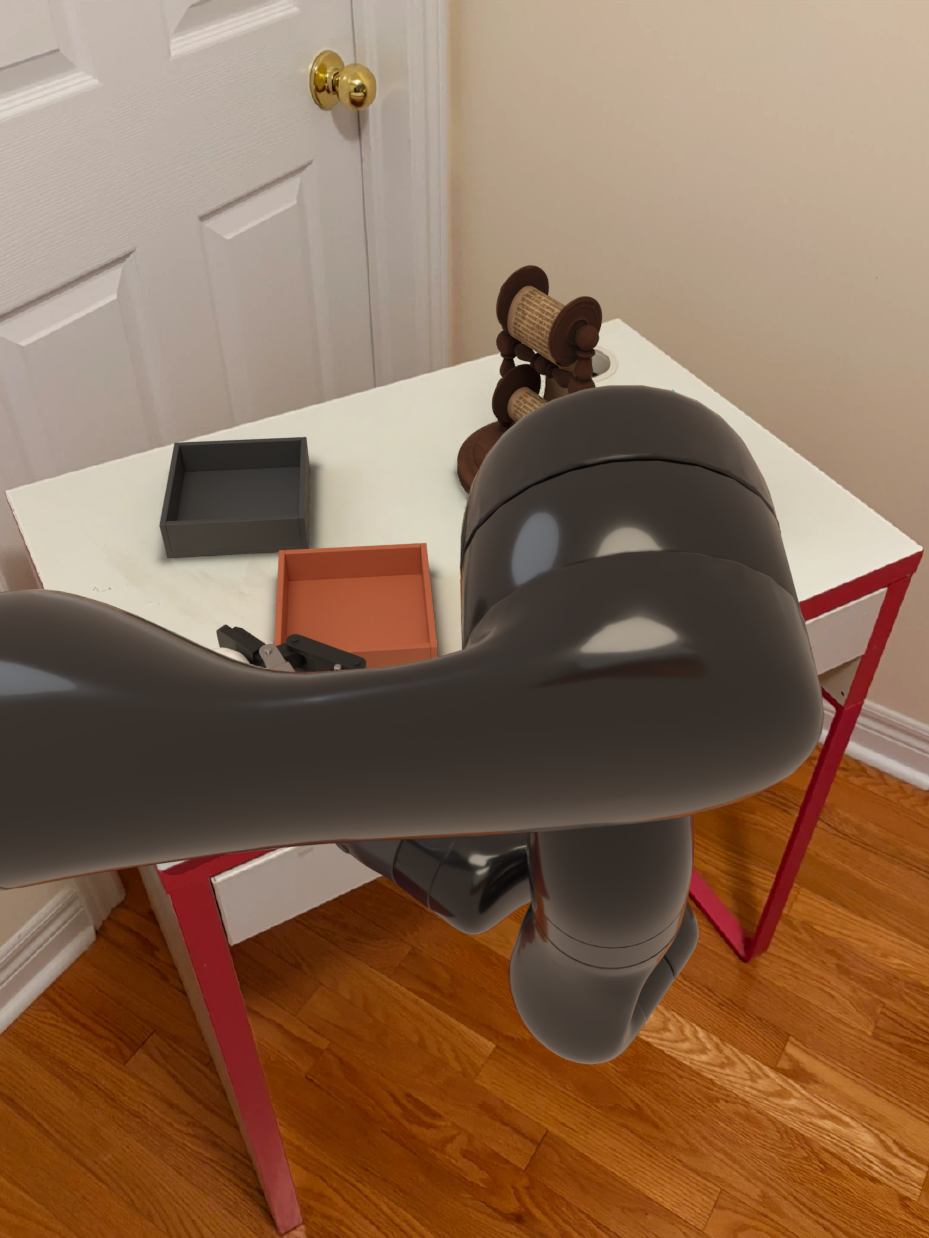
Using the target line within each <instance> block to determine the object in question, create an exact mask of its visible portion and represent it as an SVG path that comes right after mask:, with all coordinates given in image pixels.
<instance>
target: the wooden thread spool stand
mask: <svg viewBox="0 0 929 1238" xmlns="http://www.w3.org/2000/svg"><path fill="white" fill-rule="evenodd" d="M549 293H550V281H549V277H548V275H547V273H546V272H545V270H544V269H542V267H539V266H538V265H534V264H528V265H524V266H522V267H519V268H517V269H516V270H515V271H514V272H512V273H511V274H510V275H509V276H508V278H507V279H506V280H505V281H504V282H503V284H502V285H501V287H500V288H499V293H498V295H497V300H496V302H495V314H496V319H497V321H498V323H499V325H500V326H501V329H502V330H501V331H500V332H499V333H498V334H497V336H496V339H495V345H496V348H497V350H498V352H499V356H500V357H501V358H502V361H501V364H500V367H499V375H500V379H499V380H498V381H497V383H496V386H495V388H494V391H493V394H492V398H491V410H492V413H493V416H494V417H495V418H496V421H493V422H491V423H488V424H486V425H484V426H482V427H480V428H478V429H476V430H475V431H474V432H472V433H471V434H470V435H469V436H467V438H466V439H465V440H464V441H463V443H462V444H461V446H460V448H459V451H458V453H457V459H456V462H457V463H456V475H457V479H458V482H459V483H460V486H461V487H462V488H463V490H464V491H465V493H466V494H467V495H468V496H469V493H470V489H471V485H472V482H473V480H474V478H475V476H476V474H477V472H478V470H479V468H480V466H481V464H482V462H483V460H484V458H485V456H486V455H487V454H488V452H489V451H490V450H491V449H492V447H493V446H494V445H495V443H496V442H497V441H498V440H499V438H500V437H501V436H502V435H503V433H505V432H506V431H507V430H508V429H509V428H511V427H512V426H513V425H514V424H515V423H517V422H518V421H519V420H520V419H521V418H523V417H524V416H525V415H526V414H528V413H530V412H532V411H534V410H535V409H537V408H539V407H541V406H543V405H544V404H546V403H548V402H550V401H552V400H554V399H557V398H560V397H563V396H566V395H569V394H571V393H574V392H577V391H580V390H584V389H589V388H594V387H597V386H596V383H595V382H594V380H593V373H594V367H593V357H595V356H596V353H597V352H596V350H595V348H596V347H597V345H598V344H599V341H600V331H601V328H602V324H603V310H602V306H601V305H600V303H599V302H598V300H597V299H596V298H594V297H592V296H588V295H583V296H578V297H576V298H574V299H572V300H570V301H569V302H567V304H566V305H565V304H563V303H561V302H560V301H558V300H557V299H555V298H553V297H551V296H550V295H549ZM515 358H517V359H518V360H520V361H523V362H526V363H521V364H517V365H516V363H515V360H514V359H515ZM542 376H544V391H543V397H542V396H541V395H540V392H541V388H542Z"/></svg>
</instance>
